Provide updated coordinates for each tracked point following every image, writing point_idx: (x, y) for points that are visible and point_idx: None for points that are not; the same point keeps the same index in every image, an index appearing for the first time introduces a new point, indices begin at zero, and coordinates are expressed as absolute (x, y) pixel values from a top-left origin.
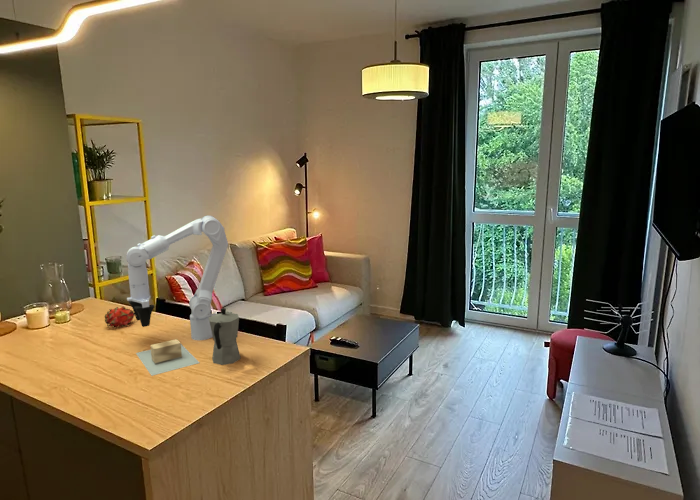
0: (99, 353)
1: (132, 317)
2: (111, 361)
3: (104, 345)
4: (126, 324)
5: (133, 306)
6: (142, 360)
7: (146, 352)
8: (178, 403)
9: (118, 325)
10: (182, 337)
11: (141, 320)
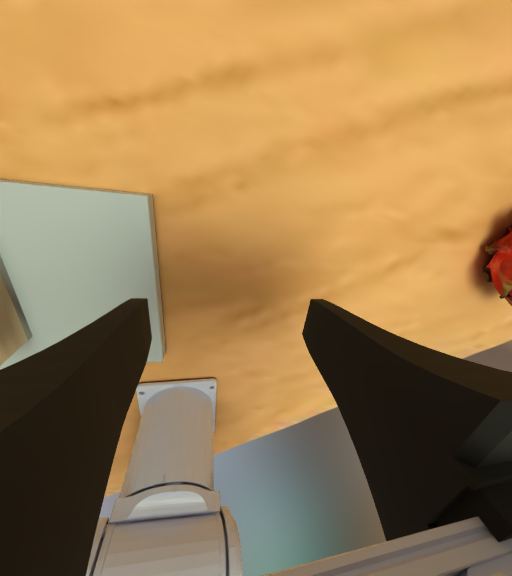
0: (327, 58)
1: (502, 295)
2: (172, 67)
3: (398, 125)
4: (489, 264)
5: (406, 374)
6: (7, 189)
7: (123, 239)
8: None
9: (505, 238)
10: (246, 368)
11: (87, 331)
